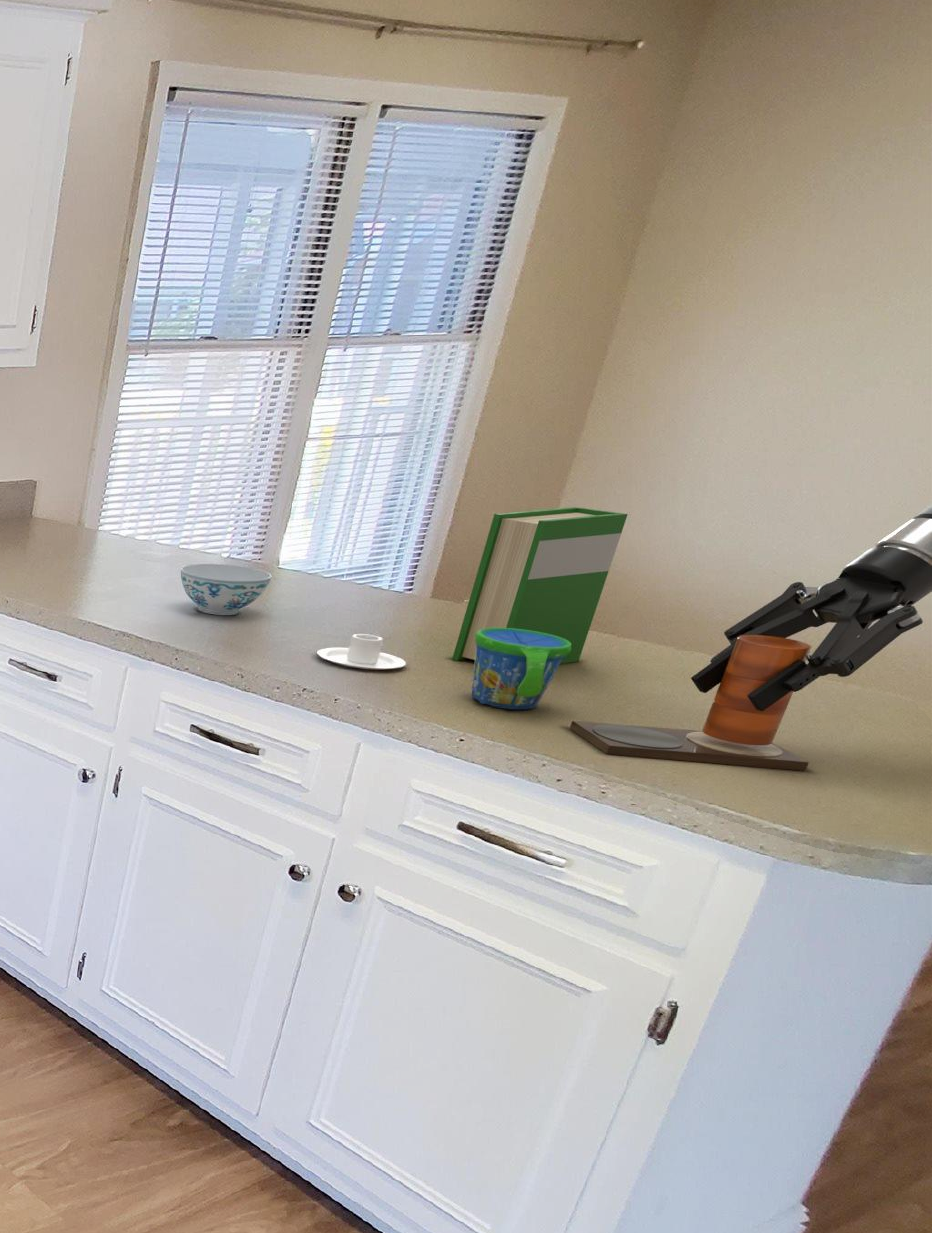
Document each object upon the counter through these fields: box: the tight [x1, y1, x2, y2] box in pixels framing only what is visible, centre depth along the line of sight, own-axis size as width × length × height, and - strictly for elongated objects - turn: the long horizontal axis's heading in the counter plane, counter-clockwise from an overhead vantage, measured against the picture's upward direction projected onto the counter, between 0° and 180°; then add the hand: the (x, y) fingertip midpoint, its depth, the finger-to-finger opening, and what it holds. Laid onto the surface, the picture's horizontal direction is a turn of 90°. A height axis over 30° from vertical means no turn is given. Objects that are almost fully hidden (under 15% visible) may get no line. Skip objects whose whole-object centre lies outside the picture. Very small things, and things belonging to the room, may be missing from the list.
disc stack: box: [701, 635, 812, 745], centre depth 142 cm, size 6×6×13 cm
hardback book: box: [451, 506, 629, 664], centre depth 179 cm, size 18×7×24 cm, turn 106°
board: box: [569, 720, 809, 772], centre depth 146 cm, size 10×20×1 cm, turn 71°
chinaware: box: [180, 563, 272, 616], centre depth 215 cm, size 15×15×8 cm
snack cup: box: [471, 628, 571, 711], centre depth 162 cm, size 16×10×10 cm
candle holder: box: [316, 633, 407, 670], centre depth 183 cm, size 12×12×4 cm
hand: (726, 694), depth 142 cm, fingers closed on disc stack, 6 cm apart
